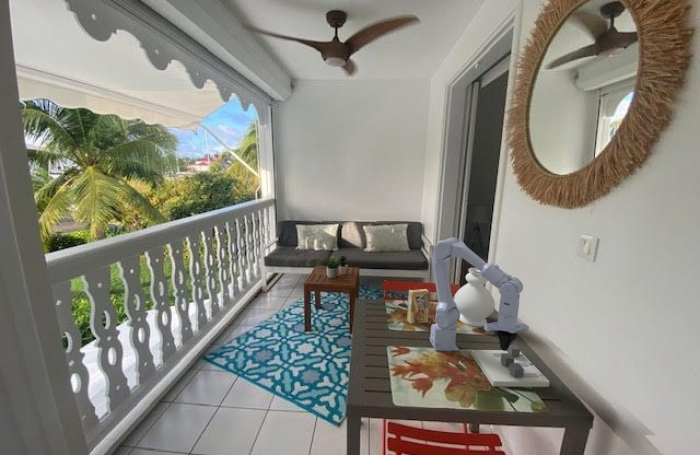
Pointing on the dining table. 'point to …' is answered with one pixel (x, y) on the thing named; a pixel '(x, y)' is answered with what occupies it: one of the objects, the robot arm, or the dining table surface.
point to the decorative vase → (474, 300)
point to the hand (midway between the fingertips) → (503, 349)
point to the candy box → (418, 306)
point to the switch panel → (501, 374)
